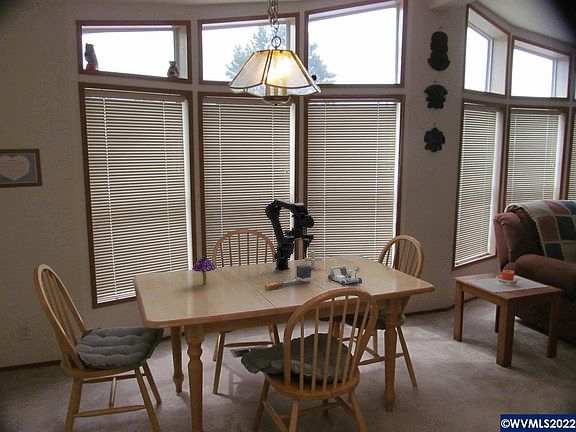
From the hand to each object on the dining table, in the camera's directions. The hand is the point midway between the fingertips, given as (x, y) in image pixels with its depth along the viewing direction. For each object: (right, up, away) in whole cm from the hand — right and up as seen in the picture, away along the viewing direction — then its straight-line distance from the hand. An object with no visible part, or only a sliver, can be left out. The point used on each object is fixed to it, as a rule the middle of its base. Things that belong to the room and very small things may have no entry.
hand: (298, 253), depth 257 cm
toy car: (+25, -15, -14) cm, 32 cm away
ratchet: (-6, -15, -21) cm, 26 cm away
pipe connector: (+9, -10, +16) cm, 21 cm away
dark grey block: (+2, -11, -15) cm, 19 cm away
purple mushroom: (-50, -15, -19) cm, 55 cm away
